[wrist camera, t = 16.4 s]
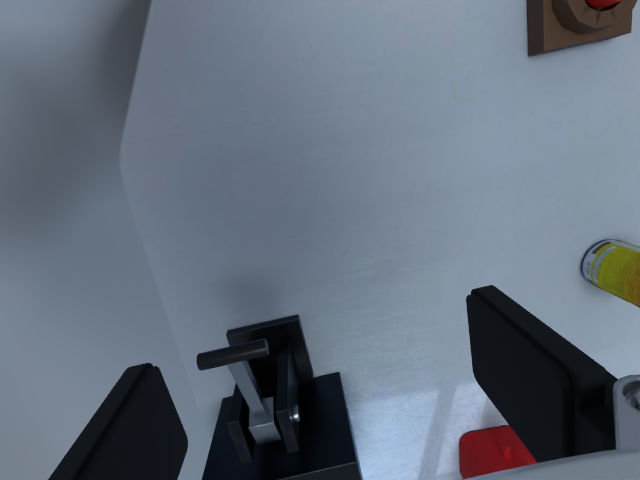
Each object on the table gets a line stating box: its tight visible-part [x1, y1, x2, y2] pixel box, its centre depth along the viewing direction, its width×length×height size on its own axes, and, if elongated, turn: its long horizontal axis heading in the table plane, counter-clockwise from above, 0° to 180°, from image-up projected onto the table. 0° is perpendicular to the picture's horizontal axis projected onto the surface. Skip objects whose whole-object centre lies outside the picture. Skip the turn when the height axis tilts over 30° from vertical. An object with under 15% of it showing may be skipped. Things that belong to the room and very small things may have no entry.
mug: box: [459, 426, 538, 479], centre depth 41 cm, size 12×8×11 cm
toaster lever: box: [197, 339, 282, 445], centre depth 28 cm, size 11×5×2 cm, turn 12°
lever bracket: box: [226, 315, 314, 464], centre depth 35 cm, size 8×8×12 cm
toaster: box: [202, 372, 363, 480], centre depth 37 cm, size 10×14×12 cm
